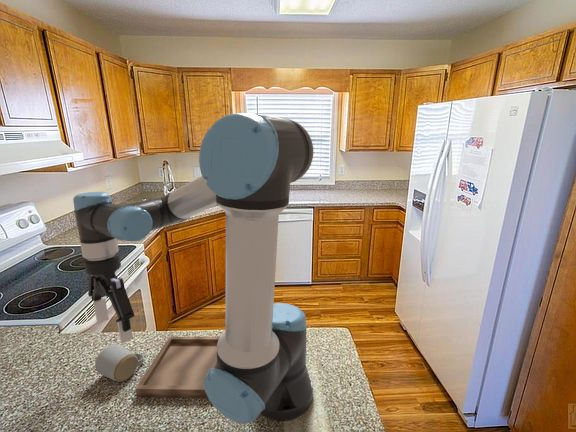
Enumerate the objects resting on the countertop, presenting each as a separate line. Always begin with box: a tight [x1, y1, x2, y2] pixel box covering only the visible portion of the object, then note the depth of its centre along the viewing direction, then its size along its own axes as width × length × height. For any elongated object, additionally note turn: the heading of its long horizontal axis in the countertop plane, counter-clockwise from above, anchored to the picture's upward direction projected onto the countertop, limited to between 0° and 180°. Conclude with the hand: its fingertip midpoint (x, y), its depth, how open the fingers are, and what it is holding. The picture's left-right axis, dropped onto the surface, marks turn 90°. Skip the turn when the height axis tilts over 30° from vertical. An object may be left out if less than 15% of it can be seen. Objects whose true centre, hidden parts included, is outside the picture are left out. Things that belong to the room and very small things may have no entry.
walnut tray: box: [135, 336, 221, 399], centre depth 81 cm, size 20×20×2 cm
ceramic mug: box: [94, 343, 145, 383], centre depth 80 cm, size 11×8×8 cm
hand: (114, 330), depth 78 cm, fingers open, 13 cm apart
